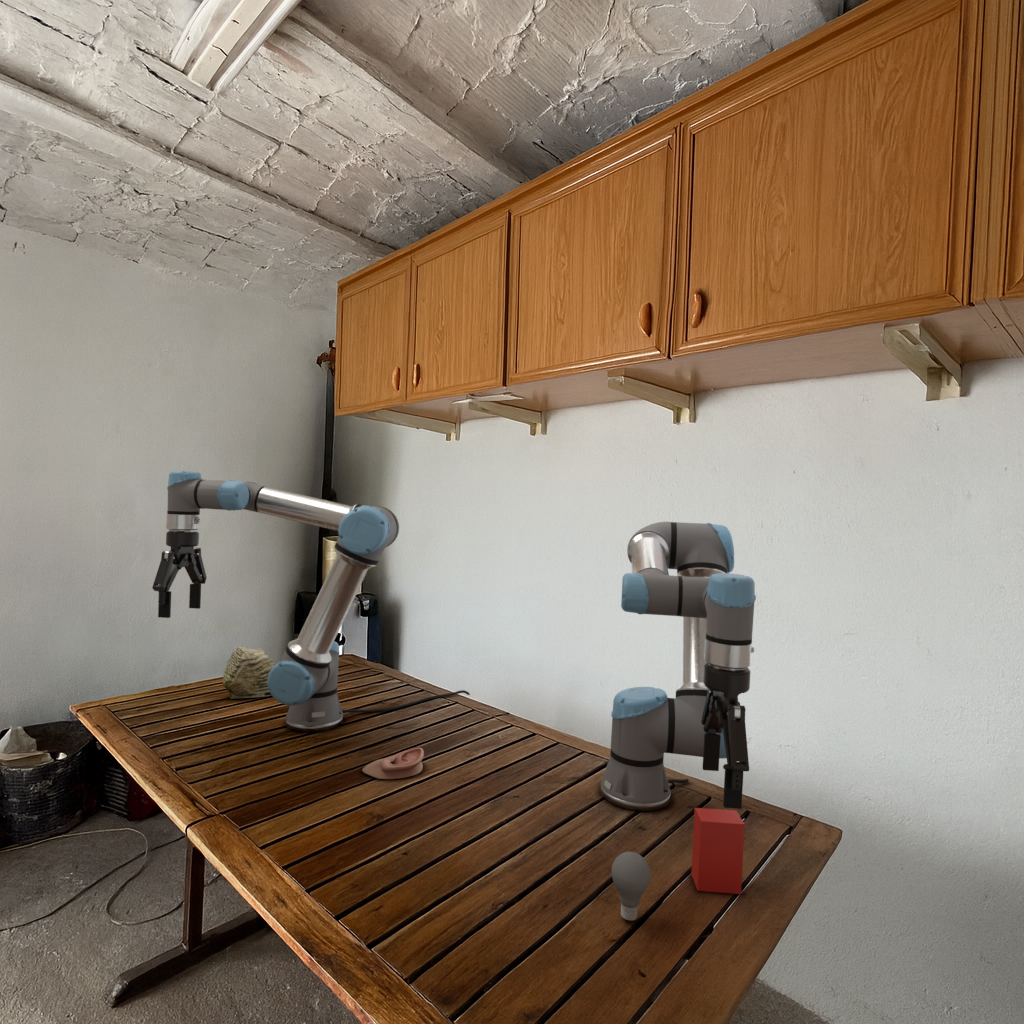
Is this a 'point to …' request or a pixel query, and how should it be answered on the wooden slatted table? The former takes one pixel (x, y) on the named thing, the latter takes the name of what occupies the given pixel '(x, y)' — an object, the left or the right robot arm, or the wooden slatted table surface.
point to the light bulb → (630, 881)
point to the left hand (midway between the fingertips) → (180, 612)
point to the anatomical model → (397, 765)
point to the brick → (717, 850)
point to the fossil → (248, 673)
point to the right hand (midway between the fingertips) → (720, 787)
